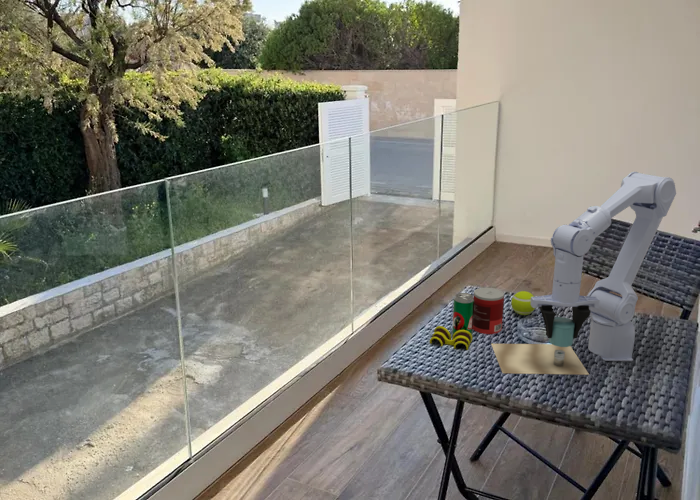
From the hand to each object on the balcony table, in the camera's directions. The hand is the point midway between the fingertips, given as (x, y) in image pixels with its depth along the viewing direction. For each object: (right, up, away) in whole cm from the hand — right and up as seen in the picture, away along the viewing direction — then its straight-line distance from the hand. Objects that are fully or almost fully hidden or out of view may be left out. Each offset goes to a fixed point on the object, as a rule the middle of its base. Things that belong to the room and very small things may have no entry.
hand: (561, 336), depth 138 cm
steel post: (0, -7, +2) cm, 7 cm away
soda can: (-19, -4, +18) cm, 26 cm away
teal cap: (0, -1, 0) cm, 1 cm away
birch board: (-4, -7, +6) cm, 10 cm away
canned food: (-12, -2, +22) cm, 25 cm away
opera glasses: (-23, -5, +14) cm, 27 cm away
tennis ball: (+1, +1, +33) cm, 33 cm away
